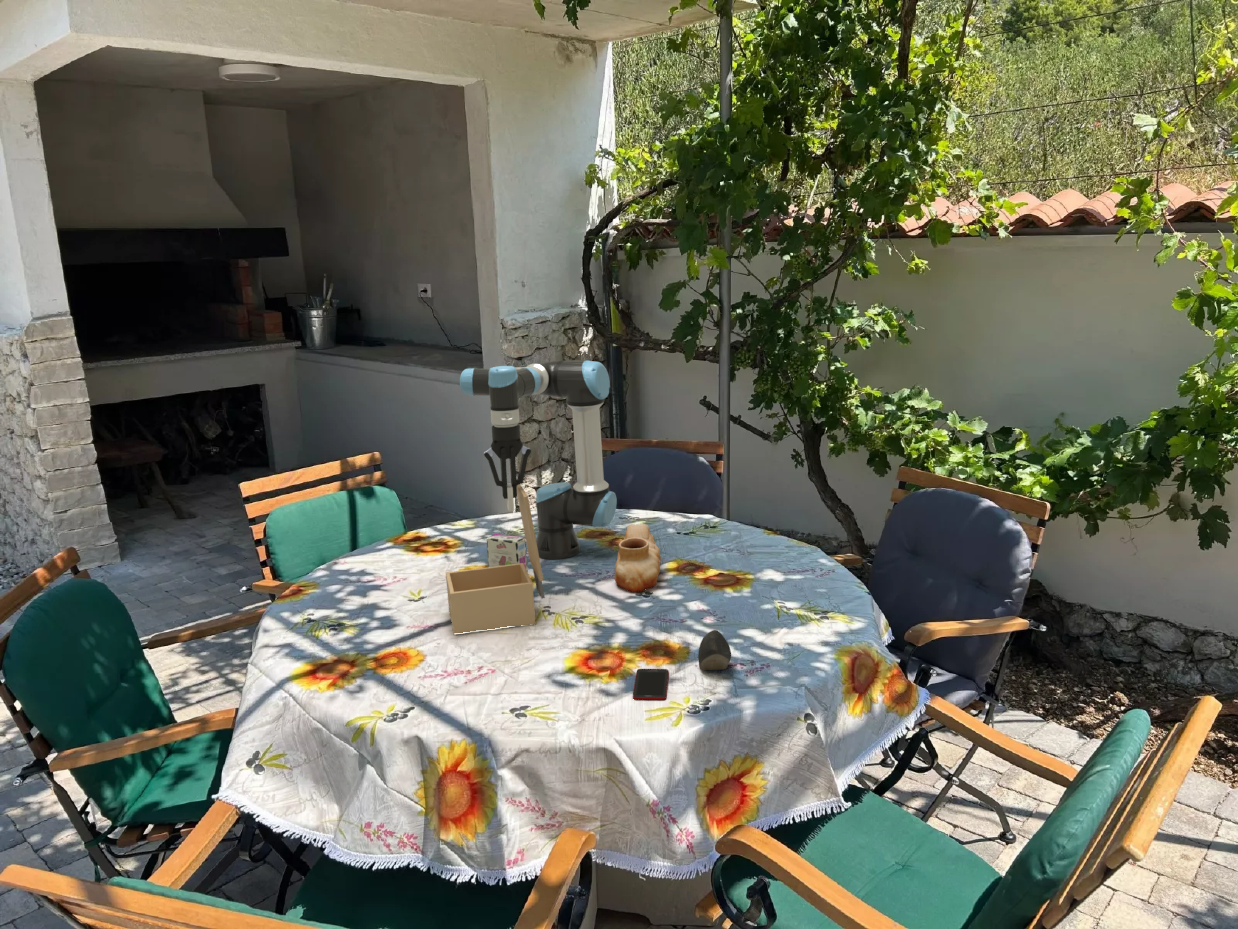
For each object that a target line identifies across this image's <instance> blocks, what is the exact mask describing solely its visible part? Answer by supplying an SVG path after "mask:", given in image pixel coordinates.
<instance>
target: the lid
mask: <svg viewBox="0 0 1238 929" xmlns="http://www.w3.org/2000/svg"><path fill="white" fill-rule="evenodd" d="M517 500H518V506H519V511H520V516H521V521H522V527H523V532H524V533H523V534H524V537H525V543H526V550H527V553H528V558H529V562H530V564H531V566H532V572H533V577H534V581H535V582H534V583H535V587H536V590H537V592H538V594H539V597H540V599H541V600H543V599H546V595H545V591H544V585H543V581H544V575H543V570H542V565H541V561H540V560H541V559H540V557H539V554H538V548H537V543H536V539H537V536H536V534H535V533H536V532H535V528H534V522H533V517H532V513H531V506H530V501H529V495H528V494H527V493H526V491H525V490H524V488H523V486H522V484H519V485H517Z"/></svg>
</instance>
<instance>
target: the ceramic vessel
mask: <svg viewBox="0 0 1238 929" xmlns="http://www.w3.org/2000/svg"><path fill="white" fill-rule="evenodd" d="M660 550H661V549H660V548H659V547H658V545H657V544H656V542H655V537H654V535H653V534H652V533H651V530H650V527H649V525H648V524H645V523H638V524H635V523H631V524H629V525H628V526H627V528H626V531H625V536H624V537H623V540H621V541H620V542H619V544H618V552H617V560H616V562H615V564H614V578H613V579H614V580H615V584H616V585H617V587H618V588H620V589H622V590H624V589H625V591H627V592H628V593H635V594H636V593H643V592H644V591H646V590H649V589H653V588H655V586H657V583H658V576H659V574H660V573H661V560H662V557H661V551H660ZM645 589H646V590H645Z"/></svg>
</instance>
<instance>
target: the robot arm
mask: <svg viewBox="0 0 1238 929" xmlns="http://www.w3.org/2000/svg"><path fill="white" fill-rule="evenodd" d="M609 375H610V374H609V372H608V370H607V368H606V367H605V366H604V364H603V363H601V362H600V361H592V360H588V359H587V360H562V359H561V360H549V361H543V362H538V363H537V362H536V363H530V364H528V365H527V366H524V367H521V366H520V367H519V366H517V367H515V366H511V365H499V366H494V367H490V368H476V367H473V368H465V369H464V370H462V372H461V374H460V377H459V387H460V390H461V391H462V393H463V394H464V395H468V396H473V397H475V396H477V397H478V396H484V397H485V396H486V397H489V402H490V403H489V404H490V421H491V422H490V423H491V425H492V426H491V437H492V440H491V441H492V442H491V444H490V447H489V448H488V449H487V450H484V451H483V456H484V457H485V458H486V460H487V461H488V464H489V468H490V470H491V474H492V477H493V479H494V480H493V481H494V483H495V485H496V486H497V487H501V488H502V489H501V490H502V497H503V499H504V500H505V499H506V508H507V511H508V512H512V511H513V512H514V511H515V507H514V499H518V496H517V485H519V484H520V485H522V484H524V479H525V474H526V468H527V463H528V458H529V457H530V455H531V453H532V450H531V448H530V447H528V446H525V445H524V444H523V442H522V439H521V437H522V436H521V426H520V425H519V423H520V410H519V409H520V408H519V406H520V405H519V399H522V398H526V397H530V396H532V395H534V396H535V395H540V396H541V395H543V396H546V397H556V398H565V399H566V405H567V406H568V407H569V408H570V409H571V412H572V424H573V425H572V426H573V440H574V453H575V456H574V457H575V466H576V467H575V468H576V482H575V483H574V485H573V486H572V484H571V482H563V481H562V482H555V483H553V482H552V483H550V484H546V485H543V486H541V487H539V488H538V489H537V491H536V498H535V499H536V500H535V503H536V512H537V513H536V514H537V528H538V532H537V535H536V543H537V548H538V554H539V559H540V558H541V559H544V560H562V559H563V560H564V559H567V558H571V557H574V556H576V555H578V554H579V553H580V552H581V549H580V548H581V547H580V546H581V545H580V542H579V540H578V538H577V535H576V533H575V530H574V529H575V528H574V525H576V526H585V527H593V528H596V527H597V528H598V527H599V528H603V527H604V528H605V527H607V526H608V525H610V524H611V523H612V521H613V519H614V517H615V513H616V510H617V501H618V500H617V495H616V493H615V492H614V491H611V490H610V484H609V483H608V482H607V481H606V480H605V479H604V478H605V475H604V463H603V462H604V461H603V446H602V444H603V443H602V431H601V416H600V415H601V413H600V412H601V411H600V408H601V407H602V405H603V404H604V401H605V399H606V398H607V397H608V396H609V394H610V386H611V382H610V376H609ZM520 452H521V454H522V455H521V460H520V463H519V470H518V475H517V471H516V470H517V469H516V467H517V466H516V464H517V463H516V461H517V460H516V458H517V457H518V456H519V453H520ZM493 453H494V454H495V455H496V456H497V457H498V458H499V462H500V474H501V475H500V477H501V478H499V475H498V471H497V468H496V466H495V462H494V460H493V456H494V454H493ZM507 460H509V467H510V468H509V470H510V473H509V474H510V484H508V475H507Z"/></svg>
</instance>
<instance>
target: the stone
mask: <svg viewBox="0 0 1238 929" xmlns="http://www.w3.org/2000/svg"><path fill="white" fill-rule="evenodd" d="M697 656H698V659H697V660H698V665H699V668H700V670H701V671H711V670H712V671H713V670H716V671H718V670H727V668H728V666H729V663H730V662H731V659H732V651H731V647H730V644H729V643H728V641H727V639H726V638H725V636H724V635H723V634H722V633H721V631H719V630H717V629H713V630H711V631H709V632H707V633H706V634H705V635H704V636H703V637H702V639H701V641H700V644H699V647H698V655H697Z"/></svg>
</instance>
